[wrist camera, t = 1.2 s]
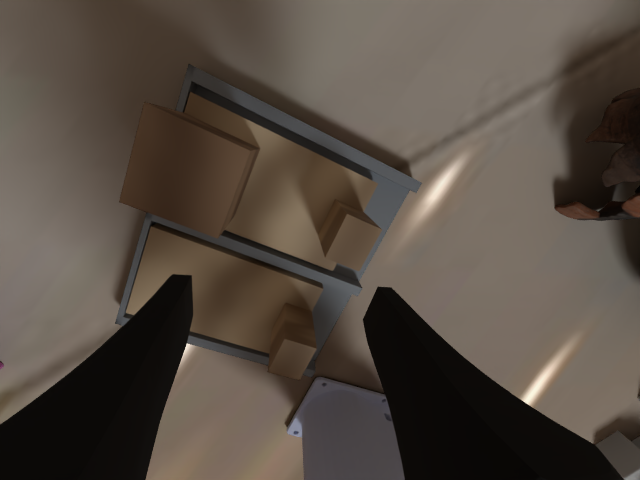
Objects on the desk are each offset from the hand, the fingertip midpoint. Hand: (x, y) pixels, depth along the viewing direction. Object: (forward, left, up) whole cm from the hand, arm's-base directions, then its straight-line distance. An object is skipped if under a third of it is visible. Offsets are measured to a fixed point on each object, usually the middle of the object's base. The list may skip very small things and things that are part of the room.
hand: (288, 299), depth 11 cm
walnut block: (+6, -2, -10) cm, 12 cm away
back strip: (+2, +8, -12) cm, 14 cm away
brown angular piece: (+2, -2, -12) cm, 12 cm away
